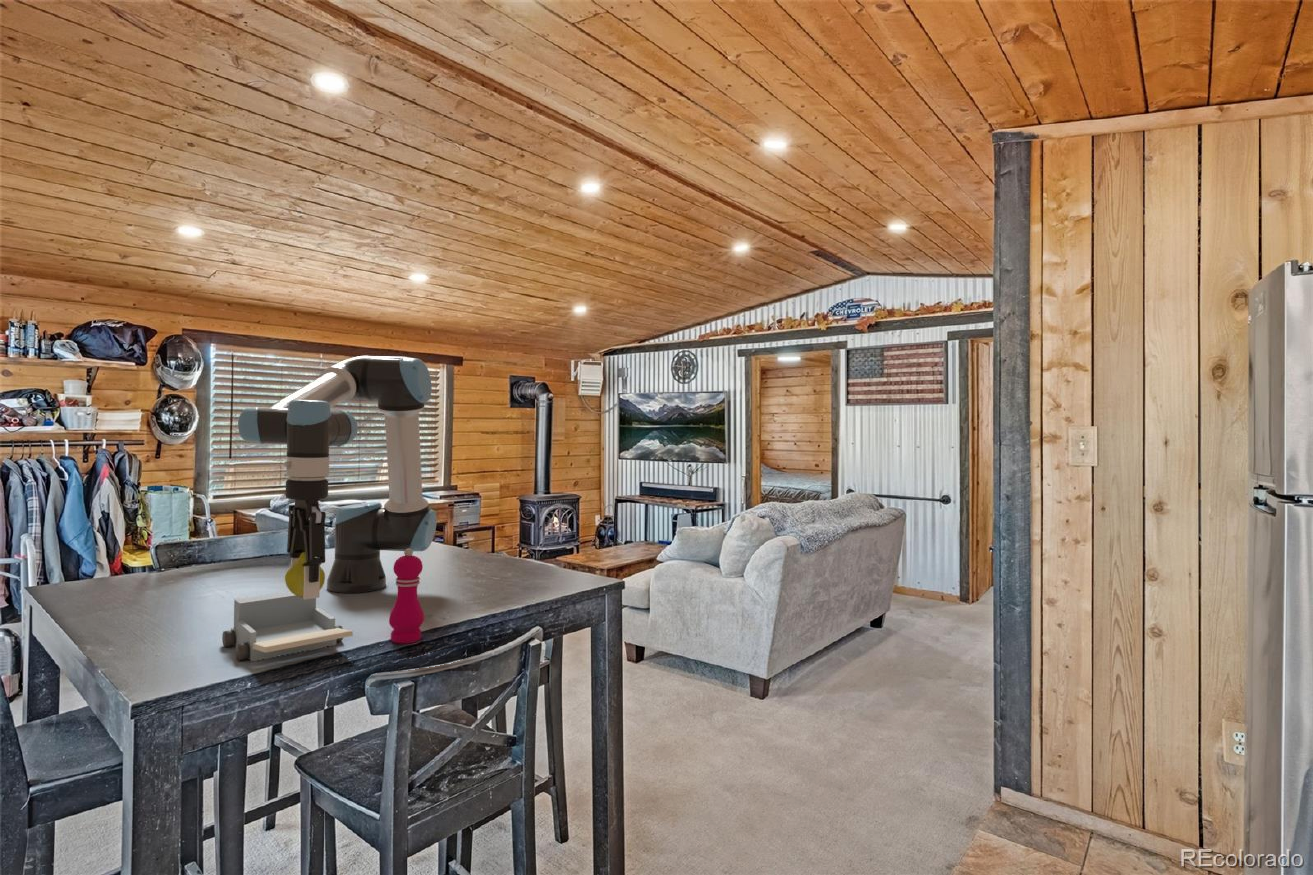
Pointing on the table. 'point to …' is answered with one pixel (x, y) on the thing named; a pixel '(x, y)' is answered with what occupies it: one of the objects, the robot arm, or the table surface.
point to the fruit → (299, 577)
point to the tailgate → (301, 639)
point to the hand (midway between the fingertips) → (304, 593)
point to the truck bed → (284, 632)
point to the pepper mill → (407, 600)
